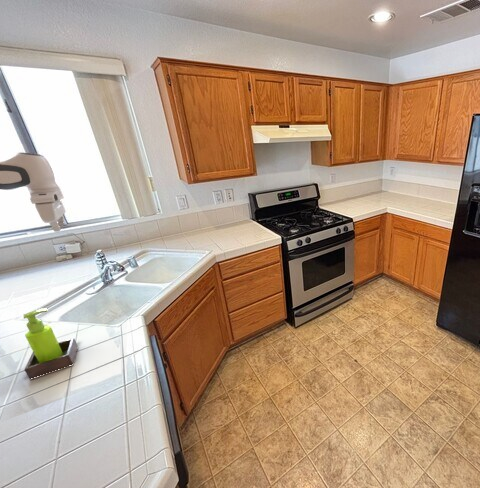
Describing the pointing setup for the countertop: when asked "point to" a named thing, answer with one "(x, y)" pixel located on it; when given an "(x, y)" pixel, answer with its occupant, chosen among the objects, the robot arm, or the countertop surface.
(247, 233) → the countertop surface
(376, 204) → the countertop surface
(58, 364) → the tray
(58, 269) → the countertop surface
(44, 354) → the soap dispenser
